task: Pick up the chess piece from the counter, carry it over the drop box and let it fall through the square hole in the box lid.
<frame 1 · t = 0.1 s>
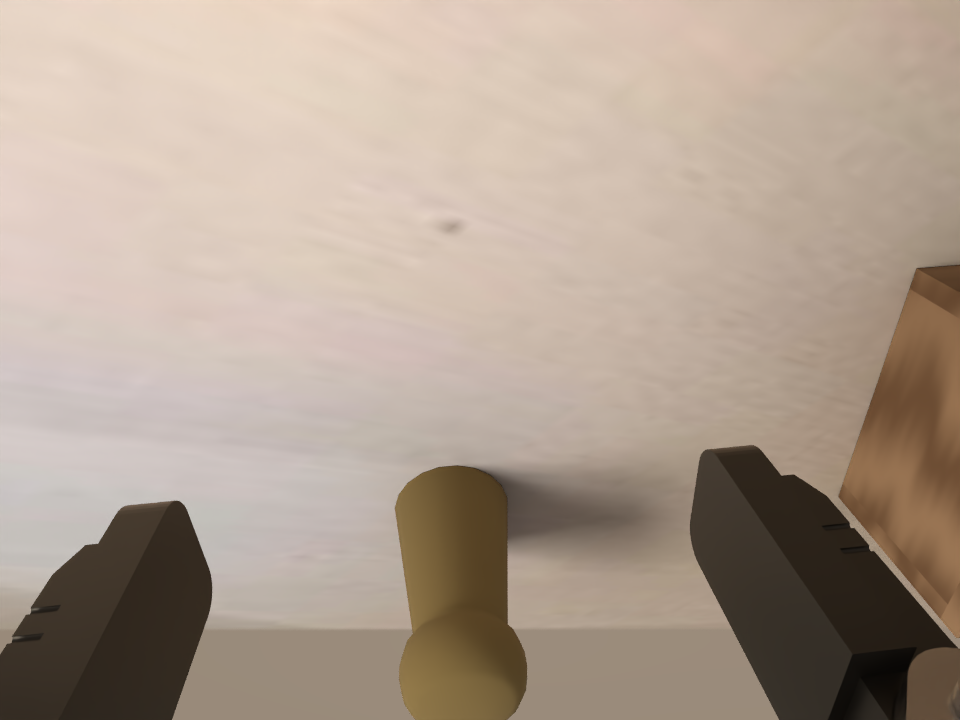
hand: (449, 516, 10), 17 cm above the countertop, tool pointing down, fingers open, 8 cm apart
cork: (451, 506, 33), on the countertop
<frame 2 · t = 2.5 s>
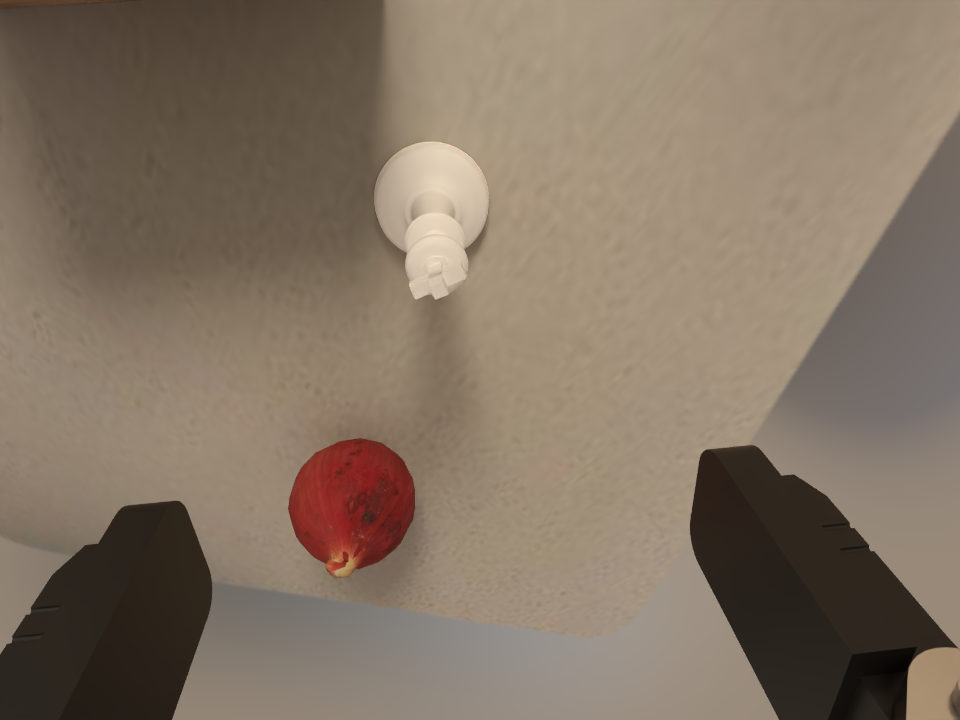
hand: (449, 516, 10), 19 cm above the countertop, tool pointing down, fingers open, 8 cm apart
chess piece: (431, 199, 27), on the countertop
red oval fruit: (360, 451, 33), on the countertop
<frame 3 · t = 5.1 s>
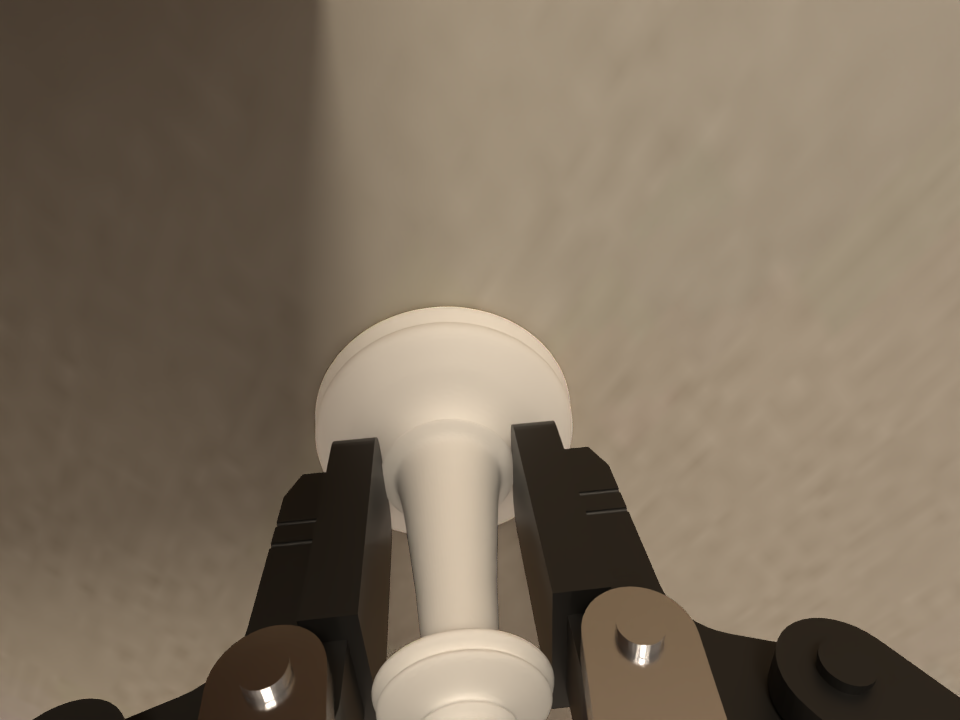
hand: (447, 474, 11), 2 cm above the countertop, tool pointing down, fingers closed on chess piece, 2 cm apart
chess piece: (444, 415, 12), on the countertop, touching gripper
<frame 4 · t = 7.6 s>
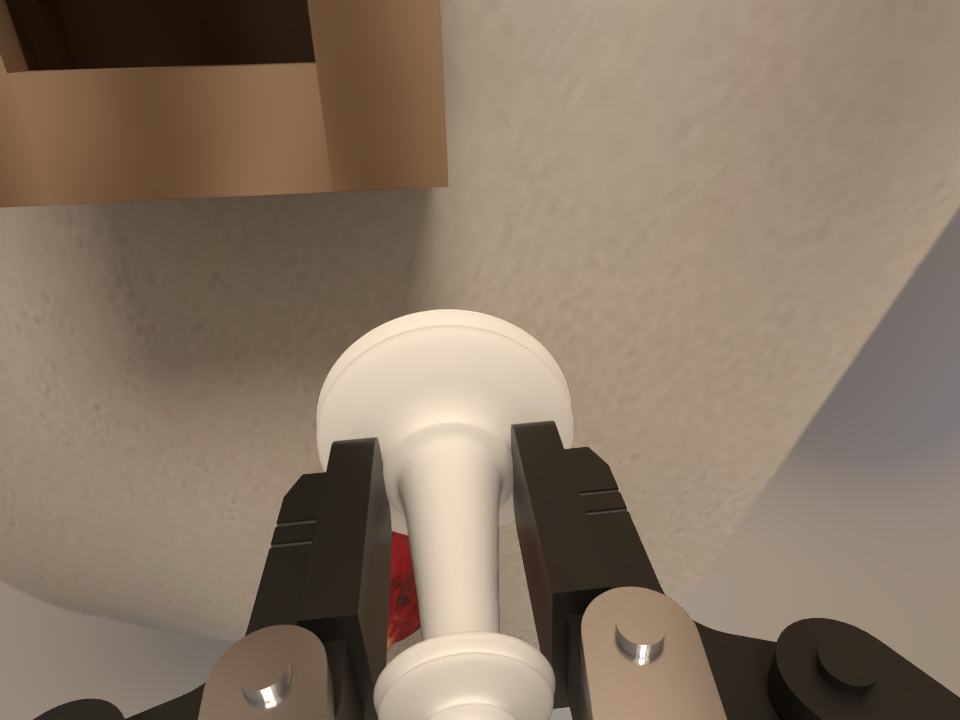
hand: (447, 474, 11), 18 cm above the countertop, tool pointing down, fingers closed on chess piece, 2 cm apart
chess piece: (445, 417, 12), point 17 cm above the countertop, touching gripper
red oval fruit: (386, 525, 35), on the countertop
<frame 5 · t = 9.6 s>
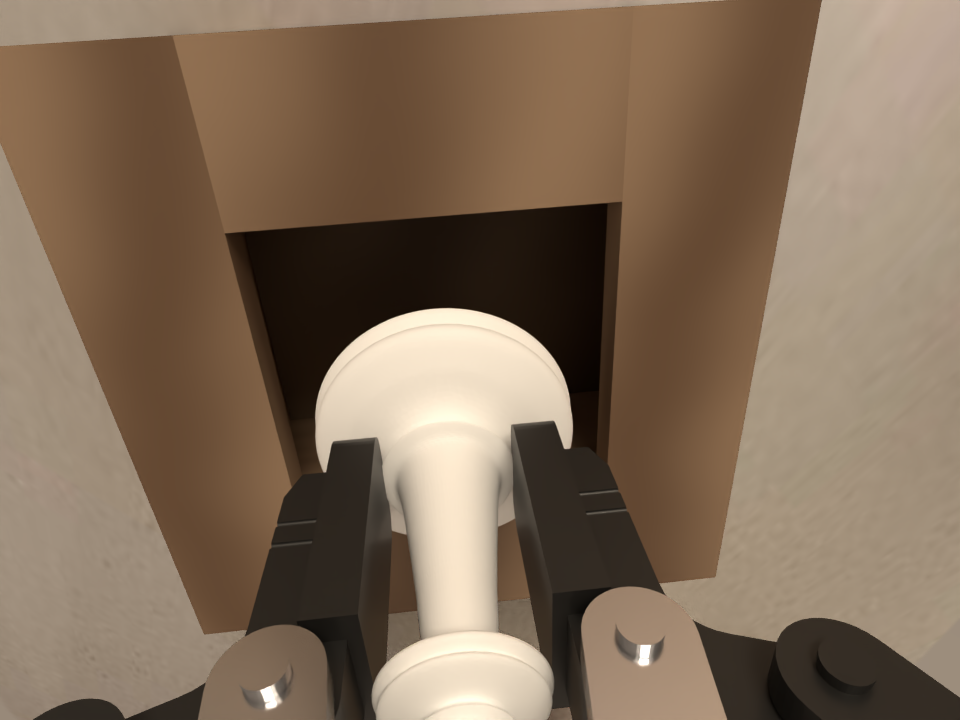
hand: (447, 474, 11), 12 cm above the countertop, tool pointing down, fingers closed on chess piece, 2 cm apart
drop box: (433, 251, 21), on the countertop
chess piece: (444, 416, 12), point 10 cm above the countertop, touching gripper
when the fingers open (12 cm above the countertop, at t = 10.2 s): chess piece drops 10 cm, resting on drop box.
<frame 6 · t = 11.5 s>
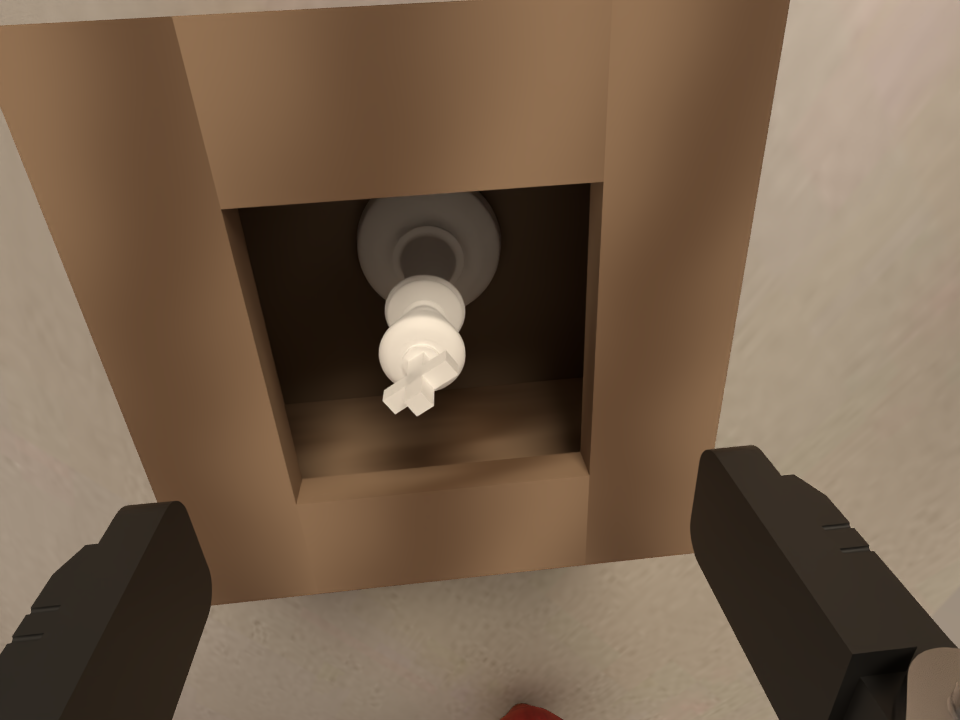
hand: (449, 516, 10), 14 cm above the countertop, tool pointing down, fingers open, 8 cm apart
drop box: (425, 238, 22), on the countertop
chess piece: (429, 242, 21), resting on drop box
red oval fruit: (521, 701, 36), on the countertop
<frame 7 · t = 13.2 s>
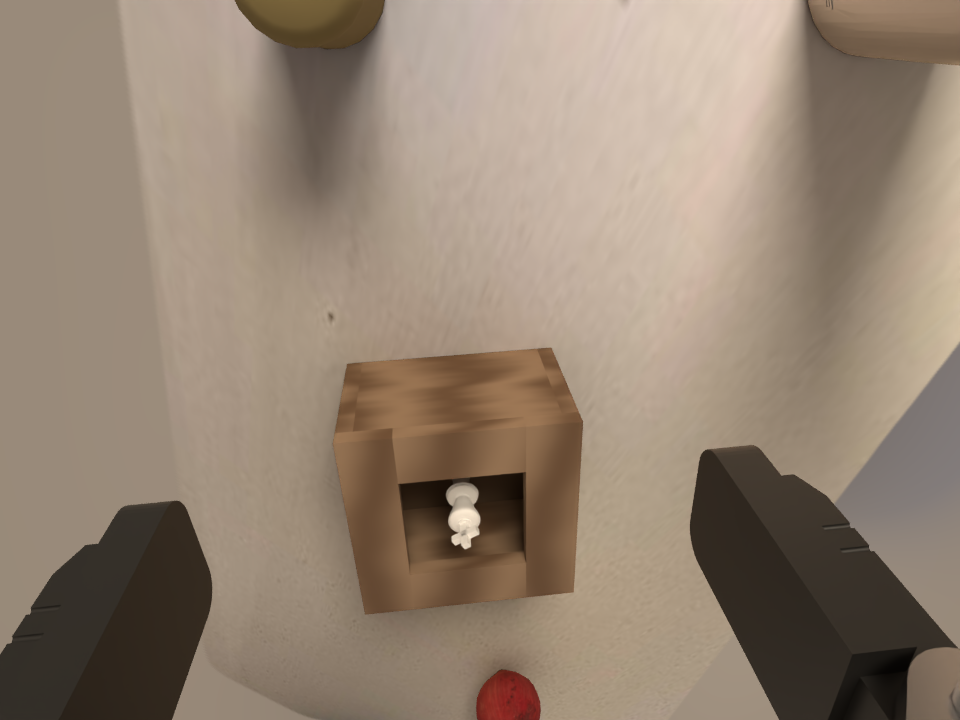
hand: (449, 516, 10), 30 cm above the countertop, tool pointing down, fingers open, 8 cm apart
drop box: (456, 438, 46), on the countertop
chess piece: (458, 441, 45), resting on drop box
red oval fruit: (502, 668, 60), on the countertop
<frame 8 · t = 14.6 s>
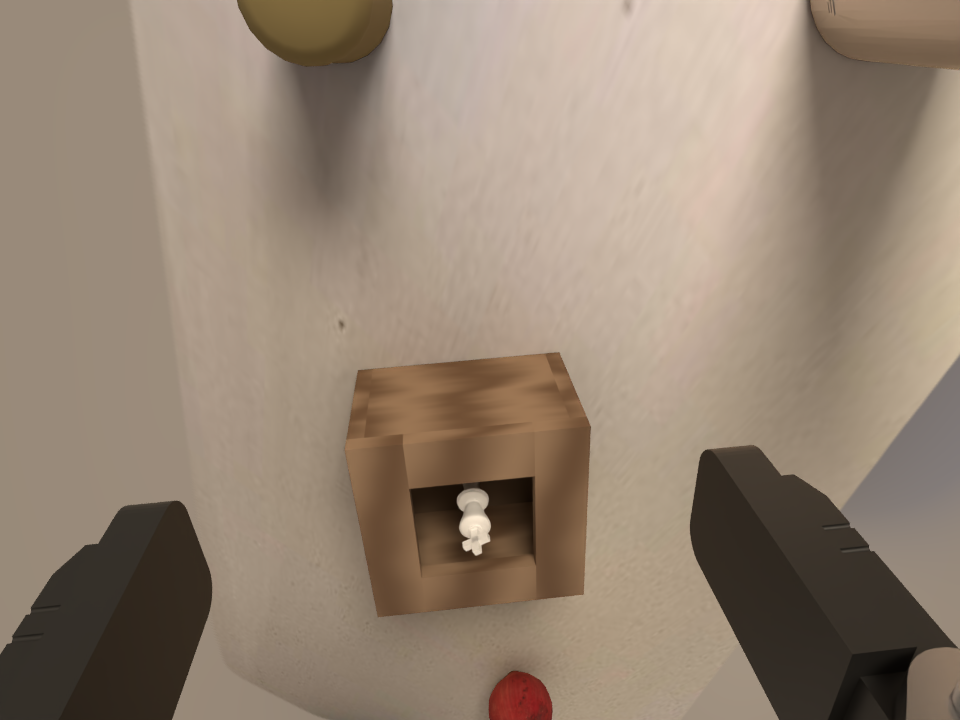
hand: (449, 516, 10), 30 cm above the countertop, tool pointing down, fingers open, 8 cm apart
drop box: (465, 442, 46), on the countertop
chess piece: (467, 445, 46), resting on drop box
red oval fruit: (514, 670, 60), on the countertop
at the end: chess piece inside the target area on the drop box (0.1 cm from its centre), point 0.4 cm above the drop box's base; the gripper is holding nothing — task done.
